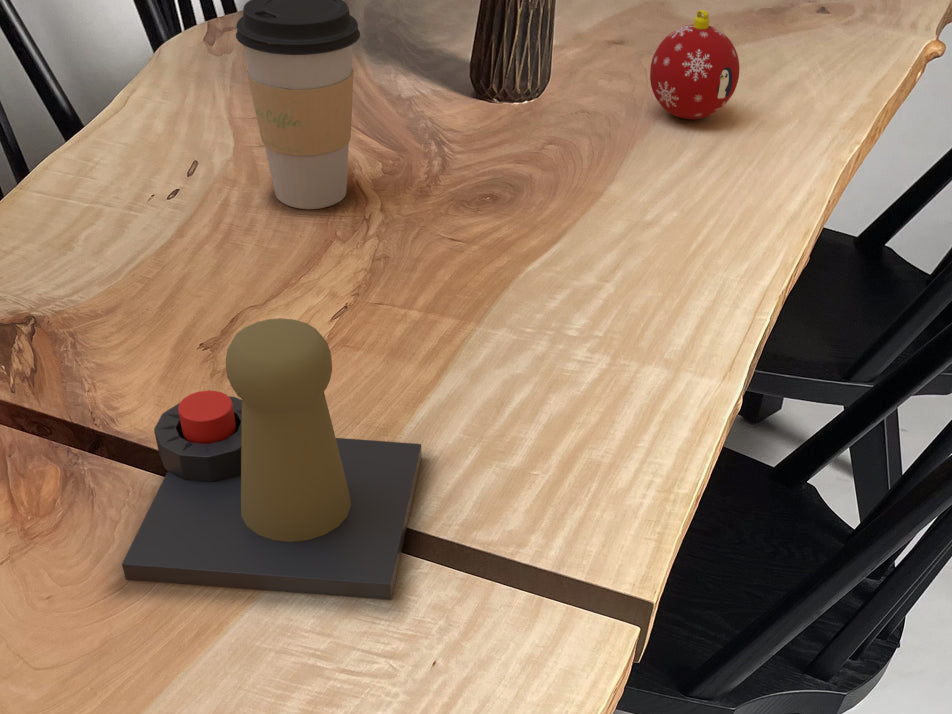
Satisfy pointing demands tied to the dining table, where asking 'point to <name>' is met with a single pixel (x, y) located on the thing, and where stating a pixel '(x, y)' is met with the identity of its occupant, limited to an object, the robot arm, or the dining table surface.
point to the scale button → (207, 417)
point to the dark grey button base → (256, 557)
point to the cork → (286, 431)
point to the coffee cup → (302, 94)
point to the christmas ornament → (694, 70)
